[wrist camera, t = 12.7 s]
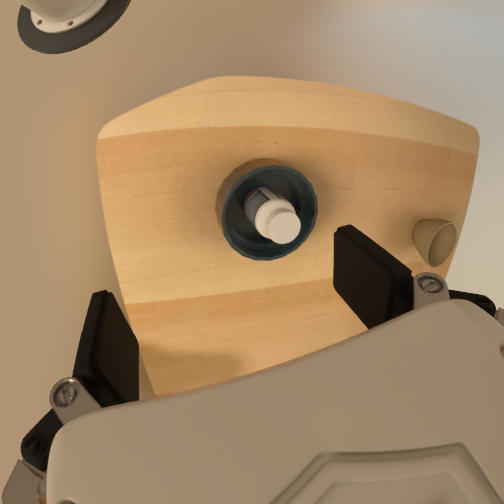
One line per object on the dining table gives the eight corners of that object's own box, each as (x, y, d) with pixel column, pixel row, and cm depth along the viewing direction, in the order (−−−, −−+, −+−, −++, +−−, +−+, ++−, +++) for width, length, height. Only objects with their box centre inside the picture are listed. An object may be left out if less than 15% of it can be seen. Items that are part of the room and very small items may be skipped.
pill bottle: (243, 223, 41) (262, 252, 33) (242, 188, 38) (261, 209, 31) (278, 219, 42) (304, 245, 34) (279, 184, 39) (306, 204, 32)
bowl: (206, 169, 36) (212, 177, 32) (298, 151, 38) (314, 157, 34) (224, 253, 43) (231, 271, 39) (304, 233, 45) (319, 247, 41)
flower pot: (424, 199, 49) (450, 212, 43) (439, 225, 54) (461, 239, 48) (397, 237, 51) (421, 254, 45) (414, 259, 56) (435, 276, 50)
